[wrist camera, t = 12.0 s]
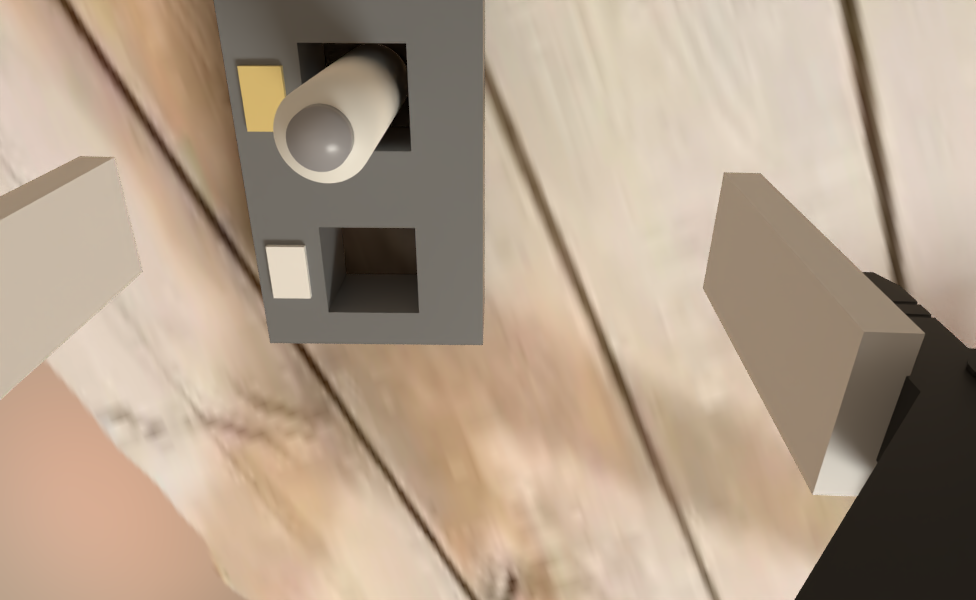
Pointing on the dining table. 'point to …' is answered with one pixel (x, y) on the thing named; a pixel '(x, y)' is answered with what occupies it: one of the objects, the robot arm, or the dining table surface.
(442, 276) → the socket block
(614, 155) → the dining table surface
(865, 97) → the dining table surface
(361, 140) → the plug
